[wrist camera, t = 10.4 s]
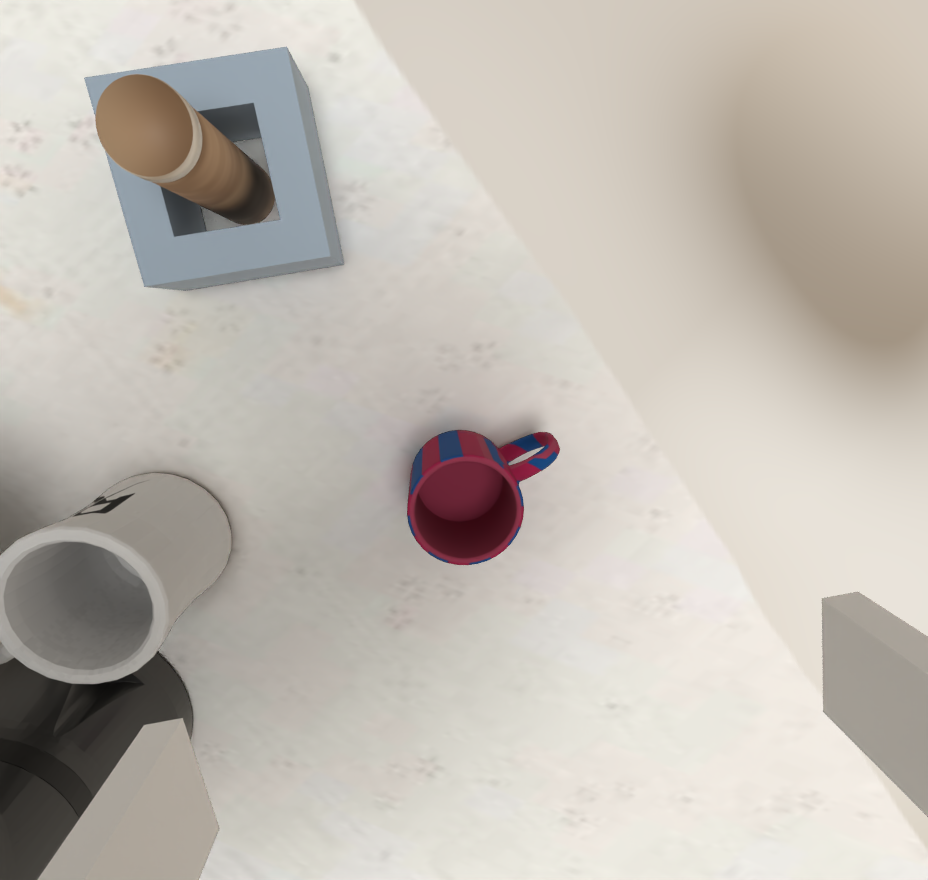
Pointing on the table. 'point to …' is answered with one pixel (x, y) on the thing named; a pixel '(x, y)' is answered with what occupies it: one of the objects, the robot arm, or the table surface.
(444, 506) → the cup
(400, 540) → the table surface
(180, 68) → the socket block
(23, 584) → the mug
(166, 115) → the dowel
